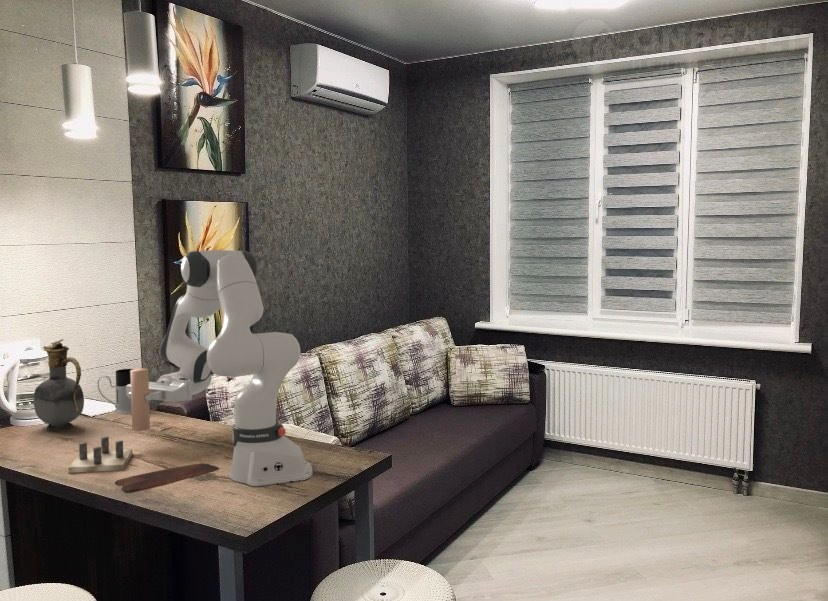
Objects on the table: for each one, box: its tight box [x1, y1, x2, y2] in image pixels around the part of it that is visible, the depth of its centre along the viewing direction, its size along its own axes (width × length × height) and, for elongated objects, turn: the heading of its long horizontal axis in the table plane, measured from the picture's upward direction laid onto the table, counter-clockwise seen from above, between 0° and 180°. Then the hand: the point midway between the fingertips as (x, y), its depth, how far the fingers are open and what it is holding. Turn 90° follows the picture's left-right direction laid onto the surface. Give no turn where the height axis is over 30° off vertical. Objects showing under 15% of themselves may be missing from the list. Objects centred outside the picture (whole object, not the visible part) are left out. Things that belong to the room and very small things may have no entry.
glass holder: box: [96, 368, 134, 415], centre depth 250 cm, size 9×14×15 cm, turn 119°
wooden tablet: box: [114, 462, 220, 493], centre depth 187 cm, size 26×2×10 cm
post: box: [130, 368, 151, 432], centre depth 209 cm, size 5×5×18 cm
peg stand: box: [68, 436, 133, 474], centre depth 196 cm, size 14×14×6 cm
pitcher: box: [33, 338, 85, 432], centre depth 228 cm, size 11×19×30 cm, turn 61°
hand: (137, 396), depth 208 cm, fingers closed on post, 5 cm apart
